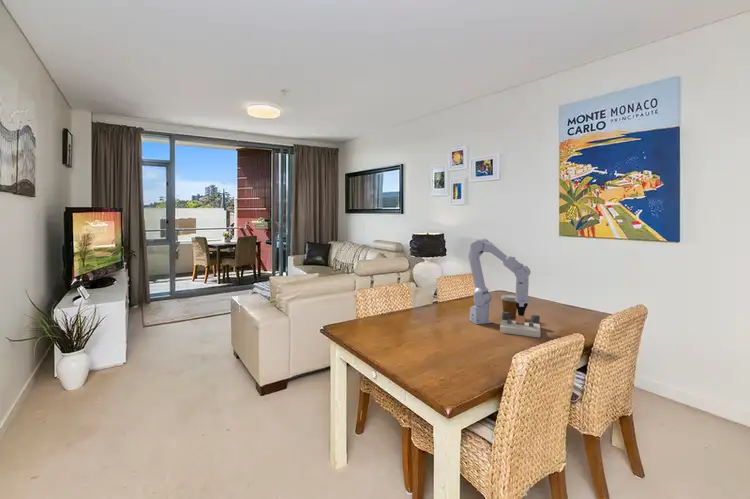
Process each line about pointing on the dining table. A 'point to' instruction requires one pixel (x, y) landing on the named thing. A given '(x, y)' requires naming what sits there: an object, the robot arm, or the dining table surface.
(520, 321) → the tan rectangular block
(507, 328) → the panel
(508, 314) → the post
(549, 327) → the dining table surface
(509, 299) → the disposable coffee cup
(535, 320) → the post
